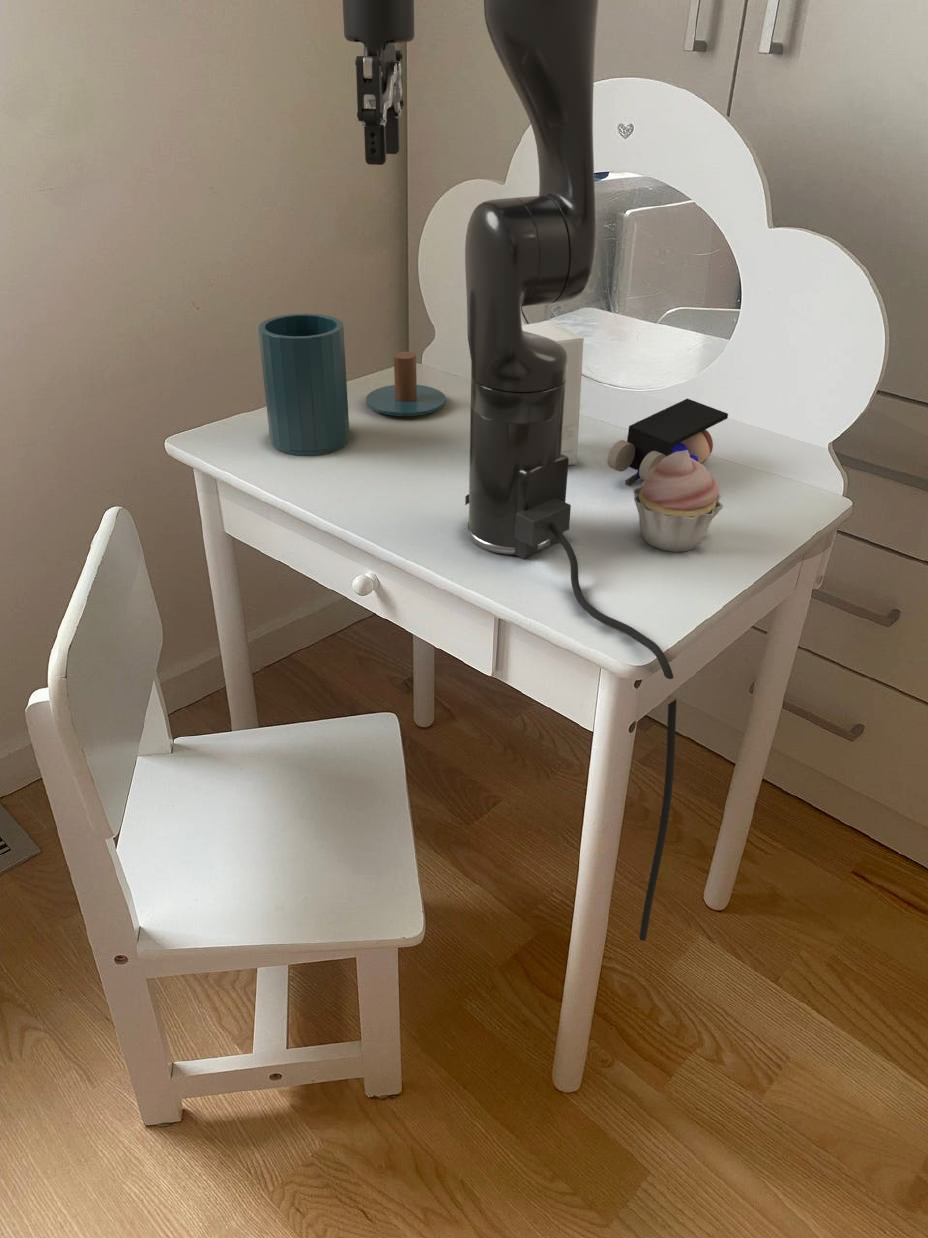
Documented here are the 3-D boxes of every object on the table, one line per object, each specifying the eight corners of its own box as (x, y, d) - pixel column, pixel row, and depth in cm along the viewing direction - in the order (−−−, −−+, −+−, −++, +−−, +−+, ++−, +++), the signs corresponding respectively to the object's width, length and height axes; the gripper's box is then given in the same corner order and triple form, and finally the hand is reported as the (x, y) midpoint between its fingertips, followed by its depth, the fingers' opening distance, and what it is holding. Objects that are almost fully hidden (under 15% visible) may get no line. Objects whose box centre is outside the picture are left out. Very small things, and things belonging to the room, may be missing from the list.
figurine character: (649, 514, 109) (725, 463, 117) (652, 455, 105) (731, 406, 112) (603, 495, 113) (679, 447, 121) (604, 437, 109) (683, 391, 116)
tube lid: (462, 406, 133) (462, 356, 129) (401, 426, 126) (400, 374, 122) (410, 385, 139) (409, 337, 135) (350, 404, 133) (347, 353, 129)
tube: (365, 441, 122) (360, 326, 114) (300, 462, 117) (290, 343, 108) (319, 419, 128) (310, 308, 120) (255, 438, 123) (242, 324, 114)
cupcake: (730, 557, 98) (747, 467, 93) (642, 562, 97) (654, 472, 92) (699, 515, 106) (713, 430, 100) (617, 520, 105) (626, 434, 99)
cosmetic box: (577, 465, 117) (588, 338, 108) (528, 473, 115) (535, 344, 106) (547, 440, 123) (555, 318, 115) (500, 447, 121) (504, 323, 113)
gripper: (401, -12, 94) (405, 169, 103) (423, -12, 106) (425, 150, 115) (326, -13, 95) (336, 167, 104) (356, -13, 107) (363, 148, 116)
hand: (383, 158), depth 109 cm, fingers open, 8 cm apart
